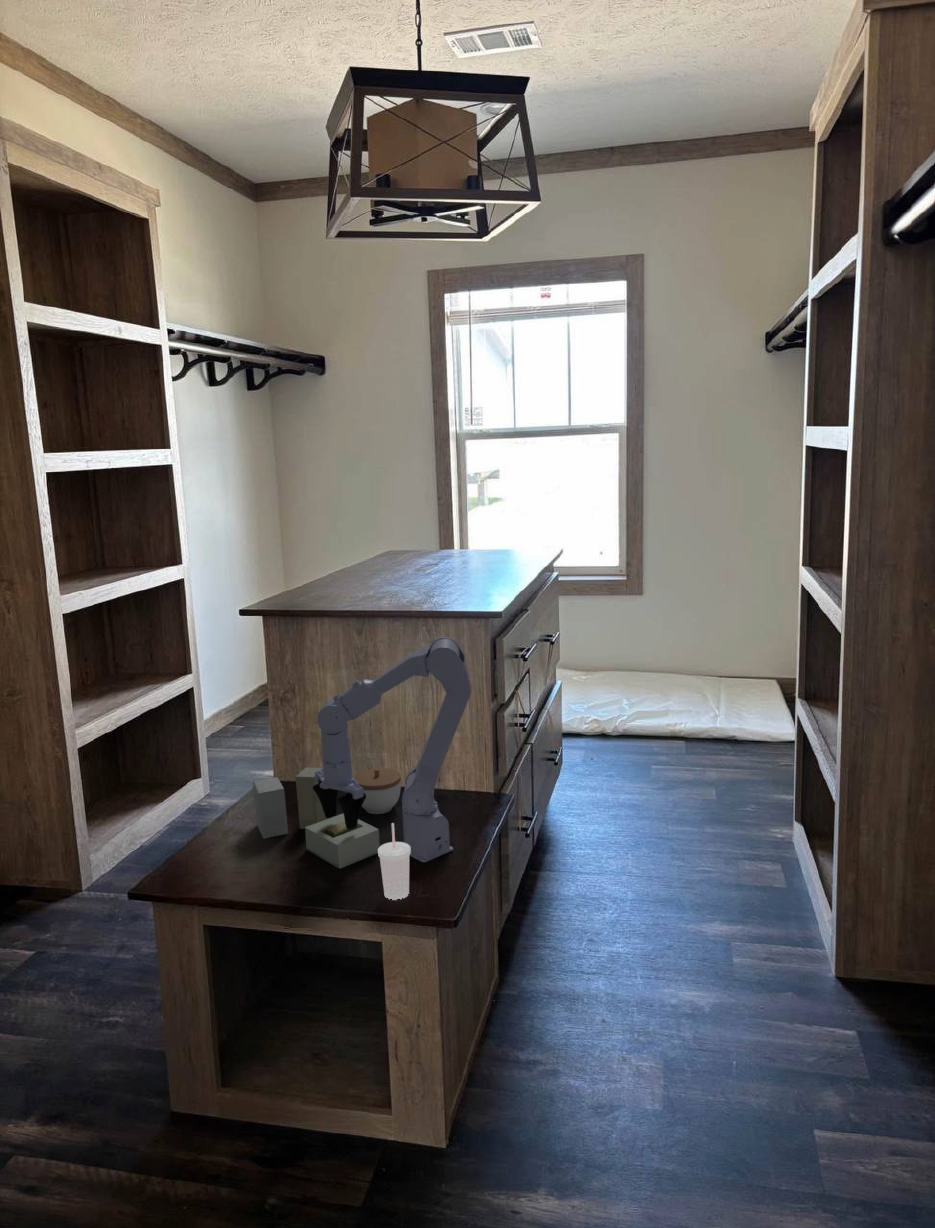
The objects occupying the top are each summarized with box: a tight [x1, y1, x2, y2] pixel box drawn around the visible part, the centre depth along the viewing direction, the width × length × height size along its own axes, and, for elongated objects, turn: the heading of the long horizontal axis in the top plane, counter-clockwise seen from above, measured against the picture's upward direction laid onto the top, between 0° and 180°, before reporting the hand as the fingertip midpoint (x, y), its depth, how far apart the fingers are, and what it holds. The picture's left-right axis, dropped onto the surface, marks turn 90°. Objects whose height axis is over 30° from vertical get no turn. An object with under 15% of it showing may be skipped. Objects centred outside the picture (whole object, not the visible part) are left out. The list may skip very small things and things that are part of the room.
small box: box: [252, 776, 289, 840], centre depth 195 cm, size 8×6×10 cm
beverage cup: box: [377, 822, 411, 901], centre depth 165 cm, size 6×6×14 cm
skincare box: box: [295, 766, 328, 830], centre depth 197 cm, size 6×4×12 cm
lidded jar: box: [353, 767, 402, 815], centre depth 205 cm, size 11×11×9 cm
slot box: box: [304, 812, 381, 869], centre depth 184 cm, size 12×10×5 cm
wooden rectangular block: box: [326, 821, 355, 838], centre depth 184 cm, size 3×5×5 cm, turn 134°
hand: (341, 822), depth 184 cm, fingers open, 7 cm apart
